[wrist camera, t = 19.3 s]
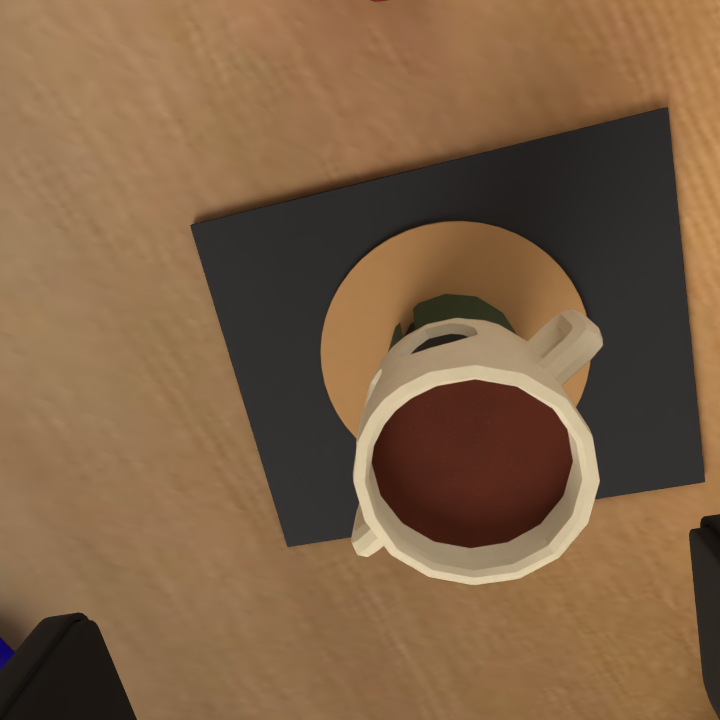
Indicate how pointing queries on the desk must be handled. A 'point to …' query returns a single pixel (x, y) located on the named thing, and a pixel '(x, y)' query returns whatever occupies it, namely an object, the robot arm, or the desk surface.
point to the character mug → (475, 444)
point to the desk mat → (471, 278)
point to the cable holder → (4, 653)
